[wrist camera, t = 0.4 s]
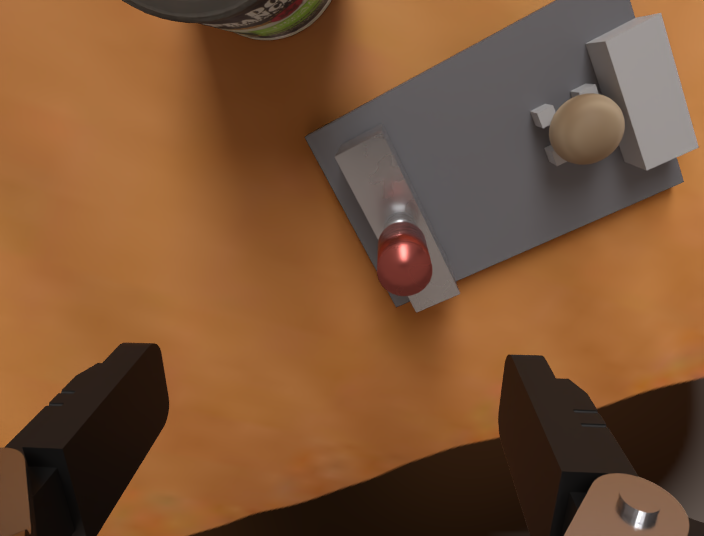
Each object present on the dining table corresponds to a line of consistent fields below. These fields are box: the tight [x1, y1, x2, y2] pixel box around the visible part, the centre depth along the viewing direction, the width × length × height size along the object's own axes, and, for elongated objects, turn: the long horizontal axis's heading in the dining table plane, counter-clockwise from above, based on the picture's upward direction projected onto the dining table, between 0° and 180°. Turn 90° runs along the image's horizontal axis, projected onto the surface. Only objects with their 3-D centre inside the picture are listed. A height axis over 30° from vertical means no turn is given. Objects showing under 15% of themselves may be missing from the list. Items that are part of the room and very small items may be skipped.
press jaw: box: [335, 123, 460, 313], centre depth 29 cm, size 3×11×12 cm, turn 28°
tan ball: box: [549, 93, 625, 165], centre depth 29 cm, size 4×4×4 cm
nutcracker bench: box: [305, 0, 698, 307], centre depth 33 cm, size 21×14×4 cm, turn 117°
